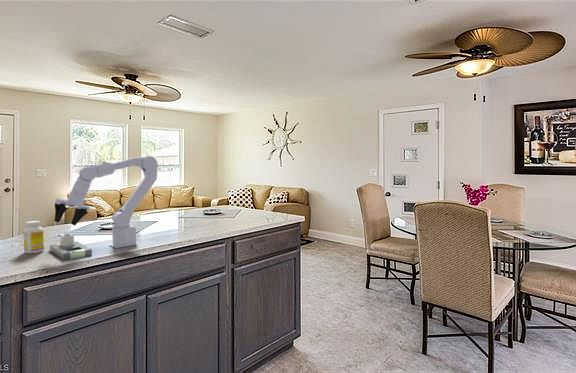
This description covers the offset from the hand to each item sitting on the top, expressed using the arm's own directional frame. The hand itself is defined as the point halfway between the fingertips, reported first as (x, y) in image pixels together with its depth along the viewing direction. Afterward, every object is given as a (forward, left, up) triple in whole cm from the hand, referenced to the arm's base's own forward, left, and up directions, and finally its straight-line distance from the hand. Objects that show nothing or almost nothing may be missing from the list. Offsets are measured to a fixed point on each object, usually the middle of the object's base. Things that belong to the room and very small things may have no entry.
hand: (65, 223), depth 140 cm
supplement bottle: (+9, -9, -13) cm, 18 cm away
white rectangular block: (-1, -1, -12) cm, 12 cm away
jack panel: (-1, +3, -12) cm, 13 cm away
